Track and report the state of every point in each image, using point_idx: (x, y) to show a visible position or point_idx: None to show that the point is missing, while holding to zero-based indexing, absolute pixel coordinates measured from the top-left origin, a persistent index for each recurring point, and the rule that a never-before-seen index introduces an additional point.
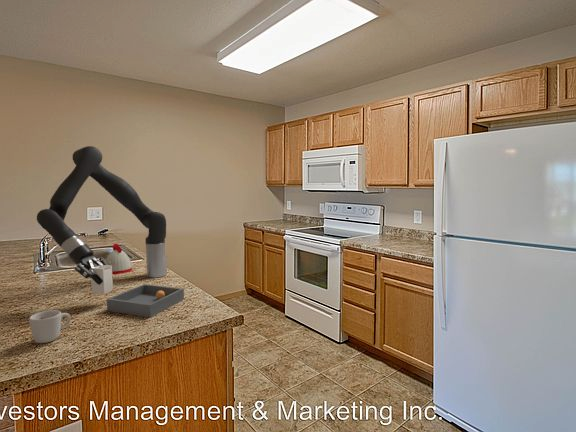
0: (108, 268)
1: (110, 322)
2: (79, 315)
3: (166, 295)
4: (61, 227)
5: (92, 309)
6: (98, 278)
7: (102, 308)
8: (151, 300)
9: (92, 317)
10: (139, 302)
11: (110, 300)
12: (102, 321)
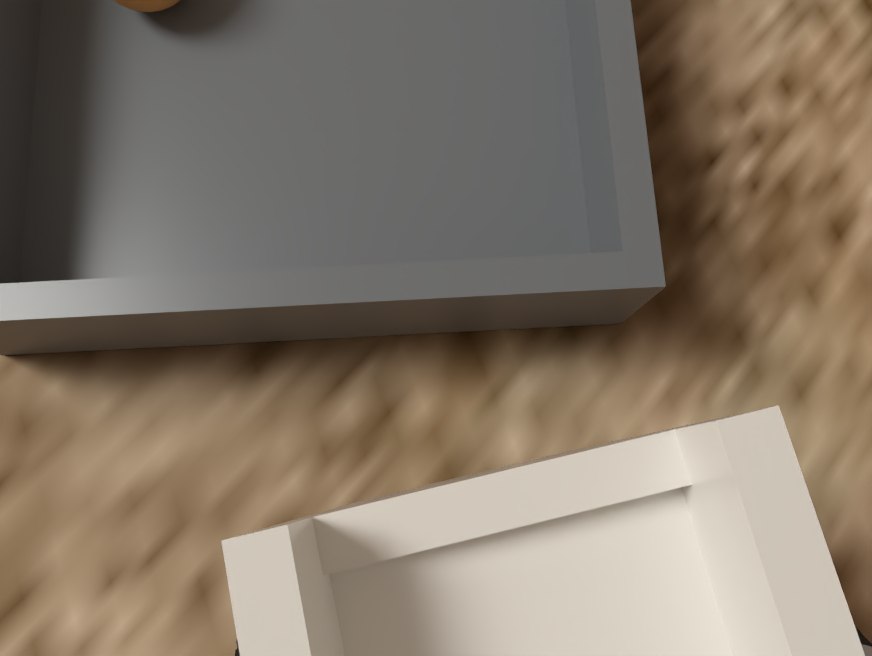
0: (331, 624)
1: (820, 41)
2: (862, 503)
3: (40, 4)
4: None
5: None
6: None
7: (592, 440)
8: (238, 43)
9: (826, 310)
10: (339, 117)
11: (654, 222)
12: (842, 128)
